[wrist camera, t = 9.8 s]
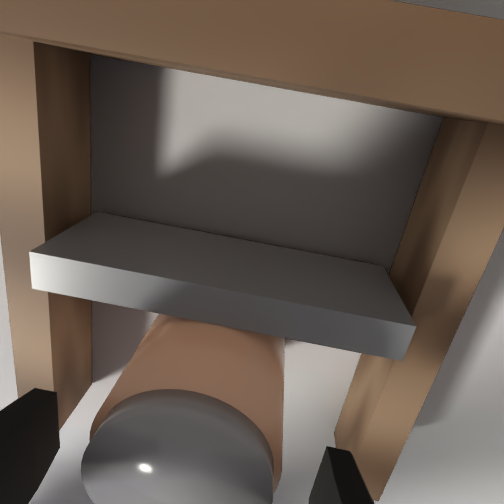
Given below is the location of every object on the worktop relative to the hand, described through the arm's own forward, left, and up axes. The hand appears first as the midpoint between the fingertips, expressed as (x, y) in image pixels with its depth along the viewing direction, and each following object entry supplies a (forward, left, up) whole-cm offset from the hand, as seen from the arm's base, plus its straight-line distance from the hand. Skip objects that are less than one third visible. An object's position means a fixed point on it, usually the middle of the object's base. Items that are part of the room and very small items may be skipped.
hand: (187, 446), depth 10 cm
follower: (+3, 0, -6) cm, 7 cm away
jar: (0, 0, -7) cm, 7 cm away
